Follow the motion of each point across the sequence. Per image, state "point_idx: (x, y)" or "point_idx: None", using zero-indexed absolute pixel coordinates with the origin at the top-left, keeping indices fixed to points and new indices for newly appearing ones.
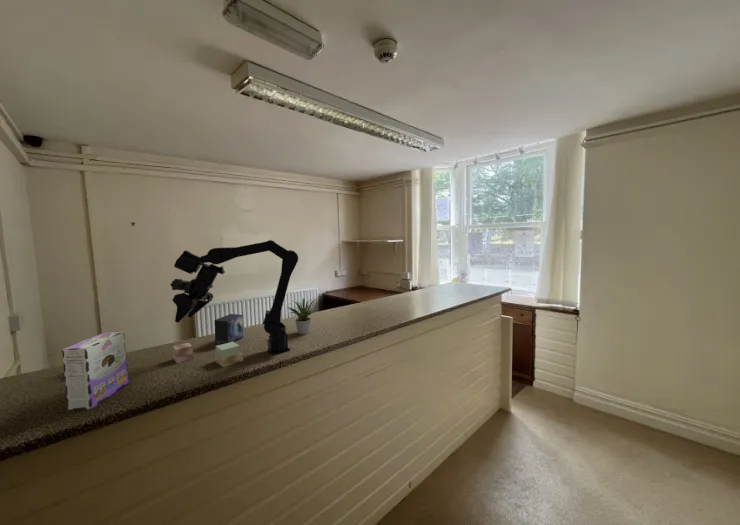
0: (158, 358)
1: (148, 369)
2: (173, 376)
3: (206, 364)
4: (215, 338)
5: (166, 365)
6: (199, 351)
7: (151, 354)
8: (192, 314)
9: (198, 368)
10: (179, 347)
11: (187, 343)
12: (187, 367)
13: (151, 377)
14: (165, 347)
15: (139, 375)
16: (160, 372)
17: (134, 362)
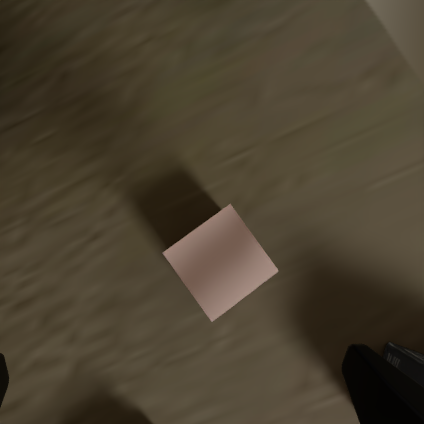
0: (246, 135)
1: (122, 153)
2: (17, 300)
3: (124, 399)
4: (409, 360)
5: (152, 211)
6: (304, 294)
7: (303, 80)
8: (364, 418)
9: (83, 378)
10: (197, 255)
11: (262, 273)
12: (107, 320)
13: (29, 208)
14: (387, 101)
15: (63, 147)
16: (76, 221)
17: (217, 53)
